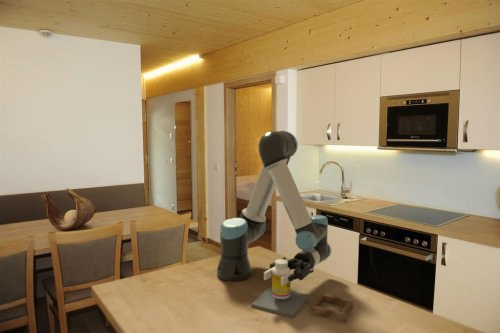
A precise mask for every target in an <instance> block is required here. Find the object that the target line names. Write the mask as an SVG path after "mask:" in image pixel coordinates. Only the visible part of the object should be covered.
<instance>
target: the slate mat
mask: <svg viewBox="0 0 500 333" xmlns="http://www.w3.org/2000/svg"><path fill="white" fill-rule="evenodd" d="M310 296H311V295H310V294H307V293H302V292H298V291H294V290H290V296H289V297H288V298H286V299H277V298H275V297H273V295H272V285H270V286H269V287H268V288H267V289H266V290H265V291H263V292H262V293H261V294H260V295H259V296H258V297H257V298H256V299H255V300H254V301H252V302H251V305H250V306H251V307H252V308H255V309H259V310H262V311H266V312H270V313H273V314H274V313H275V314H277V315H278V314H279V315H281V316H284V317H288V318H292V319H294V318H295V317H296V316H297V314H298V313H299V312H300V311H301V309H302V308H303V306H304V305H305V304H306V303H307V302H308V301H309V299H310V298H311V297H310Z"/></svg>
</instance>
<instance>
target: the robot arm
mask: <svg viewBox="0 0 500 333" xmlns="http://www.w3.org/2000/svg"><path fill="white" fill-rule="evenodd" d="M257 146H258V152H259V153H258V154H259V157H260V159H261V160H260V161H261V163H262V167H261V169H260V171H259V175H258V177H257V179H256V182H255V184H254V188H253V189H252V190H253V191H252V193H251V196H250V200H249V202H248V204H247V207H246V208H243V209H242V211H241V213H240V216H239V217H233V218H228V219H225V220H224V221H222V223H220V228H219V236H220V237H219V239H220V243H219V244H220V259H219V261H218V266H217V268H216V276H217V277H218V278H219V279H221V280H223V281H228V282H239V281H245V280H247V279H249V278H250V277H252V275H253V268H252V265H251V262H250V259H249V256H248V254H249V252H248V249H249V248H248V246H249V245H250V244H251V243H253V242H255V241H257V240H259V239H260V238H261V237H262V236H263V235H264V233H265V231H266V220H267V217H266V215H265V214H266V211H267V209H268V206H269V205H270V201H271V199H272V197H273V193H274V192H275V189H276V191H277V193H278V195H279V197H280V200H281V202H282V204H283V207H284V208H285V211H286V213H287V215H288V217H289V220H290V222H291V225H292V227H293V229H294V231H295V234H296V236H295V244H296V247H298V248H299V250H301V251H299V252H298V253H296V254H295V255H294V257H293V258H290V259H287V258H286V257H282V258H281V259H284V260H287V261H288V266H287V267H288V268H289V269H290V273H288V274H286V275H285V276H283V277H281V286H283V285H285V284H287V283H288V282H290V283H291V282H293V281H295V280H299V281H303V280H304V279H305V278H306V277H308V276H309V275H310V274H311V273H314V272H315V271H314V268H315V266H317V265H318V264H320V263H322V262H324V261H326V260H327V259H328V258H329V257H330V256H331V254H332V248H331V245H330V244H329V243H328V233H329V232H328V229H329V228H328V226H329V223H328V217H327V216H325V215H321V214H315V215H311V216H310V214H309V212H308V210H307V209H308V208H307V207H306V204H305V202H304V200H303V198H302V195H301V193H300V191H299V188H298V186H297V184H296V181H295V179H294V178H293V175H292V173H291V171H290V169H289V166H288V165H289V163H290V160H291V158H292V157H293V156H294V155H295V153H297V150H298V147H299V146H298V140H297V138H296V136H295V135H294V134H293V133H291V132H290V131H285V130H278V131H273V130H272V131H268V132H265V133H264V134H263V135H262V136H261V137H260V139H259V141H258V145H257ZM274 267H275V261H274V262H272V263H269V269H267V270H265V271H263V281H266V280H268V279H271V278H272V269H273V268H274Z"/></svg>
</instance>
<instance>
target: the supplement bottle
mask: <svg viewBox="0 0 500 333" xmlns="http://www.w3.org/2000/svg"><path fill="white" fill-rule="evenodd" d="M287 260H288V259H286V260H284V259H282V258H279V259H278V258H277V259H275V260H274V262H275V267H274V268H273V269H272V277H271V286H272V295H273V297H275V298H277V299H286V298H288V297H289V296H290V291H291V282H288V283H287V284H285V285H283V286H281V277H283V276H285V275H286V274H288V273H290V272H291V270H290V269H289V268H288V267H287V266H288V261H287Z"/></svg>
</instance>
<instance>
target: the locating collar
mask: <svg viewBox="0 0 500 333" xmlns="http://www.w3.org/2000/svg"><path fill="white" fill-rule="evenodd" d="M325 303H327V304H331V305H334V306H339V307H344V308H343V309H342V311H339V310H334V309H330V308H327V307H323V305H324V304H325ZM353 308H354V299H351V298H345V297H341V296H337V295H334V294H333V295H331V294H329V293H323V292H321V293H320V294H319V296H318V297H317V298H316V299H315V301H314V302H313V304H312V305H311V307H310V314H311V315H313V316H318V317H321V318H325V319H329V320H333V321H336V322H340V323H345V324H346V321H347V319H348V318H349V315H350V314H351V312H352V310H353Z"/></svg>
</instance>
